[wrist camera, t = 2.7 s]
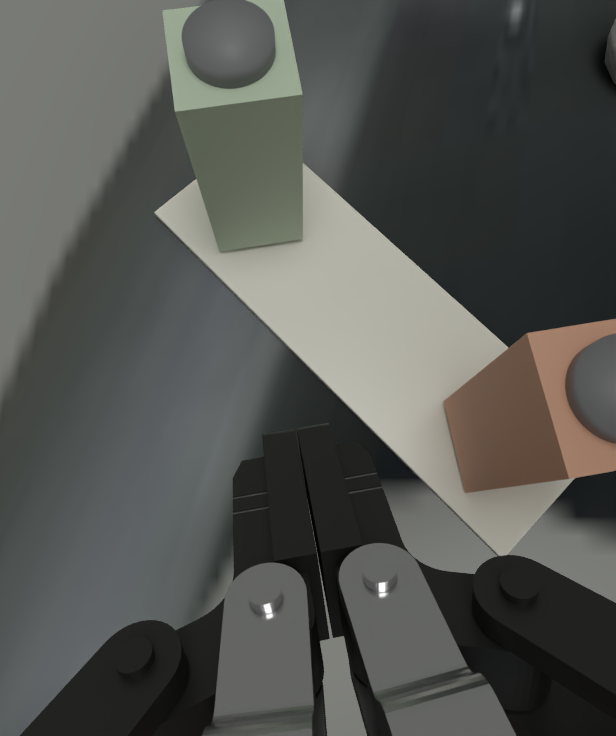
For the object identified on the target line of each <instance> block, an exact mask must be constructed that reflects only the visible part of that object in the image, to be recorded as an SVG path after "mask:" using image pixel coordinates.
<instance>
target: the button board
mask: <svg viewBox="0 0 616 736" xmlns="http://www.w3.org/2000/svg"><path fill="white" fill-rule="evenodd" d="M154 213H155V215H156V216H157V217H158V218H159V219H160V220H161V221H162V222H163V223H164V224H165V225H166V226H167V227H168V228H169V229H170V230H171V231H172V232H173V233H174V234H175V235H176V236H177V237H178V238H179V239H180V240H181V241H182V242H183V243H184V244H185V245H186V246H187V247H188V248H189V249H190V250H191V251H192V252H193V253H194V254H195V255H196V256H197V257H198V258H199V259H200V260H201V261H202V262H203V263H204V264H205V265H206V266H207V267H208V268H209V269H210V270H211V271H212V272H213V273H214V274H215V275H216V276H217V277H218V278H219V279H220V280H221V281H222V282H223V283H224V284H225V285H226V286H227V287H228V288H229V289H230V290H231V291H232V292H233V293H234V294H235V295H236V296H237V297H238V298H239V299H240V300H241V301H242V302H243V303H244V304H245V305H246V306H247V307H248V308H249V309H250V310H251V311H252V312H253V313H254V314H255V315H256V316H257V317H258V318H259V319H260V320H261V321H262V322H263V323H264V324H265V325H266V326H267V327H268V328H269V329H270V330H271V331H272V332H273V333H274V334H275V335H276V336H277V337H278V338H279V339H280V340H281V341H282V342H283V343H284V344H285V345H286V346H287V347H288V348H289V349H290V350H291V351H292V352H293V353H294V354H295V355H296V356H297V357H298V358H299V359H300V360H301V361H302V362H303V363H304V364H305V365H306V366H307V367H308V368H309V369H310V370H311V371H312V372H313V373H314V374H315V375H316V376H317V377H318V378H319V379H320V380H321V381H322V382H323V383H324V384H325V385H326V386H327V387H328V388H329V389H330V390H331V391H332V392H333V393H334V394H335V395H336V396H337V397H338V398H339V399H340V400H341V401H342V402H343V403H344V404H345V405H346V406H347V407H348V408H349V409H350V410H351V411H352V412H353V413H354V414H355V415H356V416H357V417H358V418H359V419H360V420H361V421H362V422H363V423H364V424H365V425H366V426H367V427H368V428H369V429H370V430H371V431H372V432H373V433H374V434H375V435H376V436H377V437H378V438H379V439H380V440H381V441H382V442H383V443H384V444H385V445H386V446H387V447H388V448H389V449H390V450H391V451H393V452H394V453H395V454H396V455H397V456H398V457H399V458H400V459H401V460H402V461H403V462H404V463H405V464H406V465H407V466H408V467H409V468H410V469H411V470H412V471H413V472H414V473H415V474H416V475H417V476H418V477H419V478H420V479H421V480H422V481H423V482H424V483H425V484H426V485H427V486H428V487H429V488H430V489H431V490H432V491H433V492H434V493H435V494H436V495H437V496H438V497H439V498H440V499H441V500H442V501H443V502H444V503H445V504H446V505H447V506H448V507H449V508H450V509H451V510H452V511H453V512H454V513H455V514H456V515H457V516H458V517H459V518H460V519H461V520H462V521H463V522H464V523H465V524H466V525H467V526H468V527H469V528H470V529H471V530H472V531H473V532H474V533H475V534H476V535H477V536H478V537H479V538H480V539H481V540H482V541H483V542H484V543H485V544H486V545H487V546H488V547H489V548H490V549H491V550H492V551H493V552H494V553H495V554H496V555H497V556H504V555H507V554H508V553H509V552H510V551H511V550H512V549H513V548H514V546H515V545H516V544H517V543H518V542H519V541H520V540H521V539H522V537H523V536H524V535H525V534H526V533H527V532H528V531H529V529H530V528H531V527H532V526H533V525H534V524H535V523H536V521H537V520H538V519H539V518H540V517H541V516H542V515H543V514H544V512H545V511H546V510H547V509H548V508H549V507H550V506H551V504H552V503H553V502H554V501H555V500H556V499H557V498H558V496H559V495H560V494H561V493H562V492H563V491H564V490H565V489H566V487H567V486H568V485H569V484H570V483H571V482H572V481H573V479H574V478H571V479H564V480H557V481H550V482H543V483H535V484H528V485H521V486H514V487H506V488H499V489H492V490H484V491H477V492H470V493H465V489H464V485H463V480H462V476H461V472H460V468H459V464H458V460H457V455H456V451H455V447H454V443H453V439H452V435H451V430H450V426H449V422H448V418H447V414H446V410H445V405H444V400H446V399H447V398H448V397H449V396H450V395H452V394H453V393H454V392H455V391H457V390H458V389H459V388H460V387H461V386H463V385H464V384H465V383H466V382H468V381H469V380H470V379H471V378H473V377H474V376H475V375H476V374H477V373H479V372H480V371H481V370H482V369H484V368H485V367H486V366H487V365H488V364H490V363H491V362H492V361H493V360H495V359H496V358H497V357H498V356H500V355H501V354H502V353H503V352H504V351H506V350H507V349H508V347H507V346H506V345H505V344H504V343H503V342H502V341H500V340H499V339H498V338H497V337H496V336H495V335H494V334H493V333H492V332H490V331H489V330H488V329H487V328H486V327H485V326H484V325H483V324H482V323H480V322H479V321H478V320H477V319H476V318H475V317H474V316H473V315H472V314H470V313H469V312H468V311H467V310H466V309H465V308H464V307H463V306H462V305H460V304H459V303H458V302H457V301H456V300H455V299H454V298H453V297H452V296H450V295H449V294H448V293H447V292H446V291H445V290H444V289H443V288H441V287H440V286H439V285H438V284H437V283H436V282H435V281H434V280H433V279H431V278H430V277H429V276H428V275H427V274H426V273H425V272H424V271H423V270H421V269H420V268H419V267H418V266H417V265H416V264H415V263H414V262H413V261H411V260H410V259H409V258H408V257H407V256H406V255H405V254H404V253H403V252H401V251H400V250H399V249H398V248H397V247H396V246H395V245H394V244H393V243H391V242H390V241H389V240H388V239H387V238H386V237H385V236H384V235H383V234H381V233H380V232H379V231H378V230H377V229H376V228H375V227H374V226H373V225H371V224H370V223H369V222H368V221H367V220H366V219H365V218H364V217H363V216H361V215H360V214H359V213H358V212H357V211H356V210H355V209H354V208H352V207H351V206H350V205H349V204H348V203H347V202H346V201H345V200H344V199H342V198H341V197H340V196H339V195H338V194H337V193H336V192H335V191H334V190H332V189H331V188H330V187H329V186H328V185H327V184H326V183H325V182H324V181H322V180H321V179H320V178H319V177H318V176H317V175H316V174H315V173H314V172H312V171H311V170H310V169H309V168H308V167H307V166H306V165H305V164H304V163H303V239H301V240H294V241H287V242H280V243H274V244H267V245H260V246H254V247H247V248H240V249H234V250H227V251H220V252H219V248H218V245H217V242H216V239H215V236H214V233H213V230H212V226H211V223H210V220H209V217H208V214H207V211H206V208H205V204H204V201H203V198H202V195H201V192H200V189H199V185H198V182H197V179H195V180H194V181H193V182H192V183H190V184H189V185H188V186H187V187H185V188H184V189H183V190H182V191H180V192H179V193H178V194H177V195H175V196H174V197H173V198H172V199H170V200H169V201H168V202H167V203H165V204H164V205H163V206H162V207H160V208H159V209H158V210H157V211H155V212H154Z"/></svg>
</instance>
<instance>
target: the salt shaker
mask: <svg viewBox="0 0 616 736" xmlns="http://www.w3.org/2000/svg"><path fill="white" fill-rule="evenodd" d="M605 65H606V67H607V69H608V71H609V73H610V76H611V78H612V80H613V82H614V84H616V19H615V22H614V24H613V26H612V28H611V31H610V33H609V35H608V41H607V48H606V55H605Z"/></svg>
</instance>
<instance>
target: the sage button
mask: <svg viewBox="0 0 616 736" xmlns="http://www.w3.org/2000/svg"><path fill="white" fill-rule="evenodd" d="M162 12H163V20H164V28H165V35H166V43H167V52H168V59H169V67H170V75H171V83H172V91H173V99H174V107H175V113H176V116H177V119H178V123H179V126H180V129H181V132H182V135H183V138H184V141H185V145H186V148H187V151H188V154H189V157H190V160H191V163H192V167H193V170H194V173H195V176H196V179H197V182H198V185H199V189H200V192H201V195H202V198H203V201H204V204H205V208H206V211H207V214H208V217H209V220H210V223H211V226H212V230H213V233H214V236H215V239H216V242H217V245H218V248H219V252H220V251H227V250H234V249H240V248H247V247H254V246H260V245H267V244H274V243H280V242H287V241H294V240H301V239H303V94H302V89H301V84H300V79H299V74H298V69H297V64H296V59H295V54H294V49H293V44H292V39H291V34H290V29H289V24H288V19H287V14H286V9H285V4H284V0H213V1H210V2H207V3H205V4H203V5H201V6H196V7H188V8H181V9H172V10H165V11H162Z"/></svg>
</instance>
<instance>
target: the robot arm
mask: <svg viewBox="0 0 616 736" xmlns="http://www.w3.org/2000/svg"><path fill="white" fill-rule="evenodd" d="M297 434H298V440H299V447H300V454H301V460H302V467H303V473H304V480H305V486H306V492H307V497H306V492H305V486H304V481H303V475H302V470H301V464H300V459H299V453H298V448H297V442H296V437H295V431H294V429H291V430H285V431H279V432H273V433H267V434H262V438H263V449H264V457H262V458H256V459H251V460H245V461H242V462H241V464H240V466H239V468H238V470H237V471H236V473H235V475H234V477H233V513H234V516H233V535H234V577H233V582H232V583H231V585H230V586H229V588H228V590H227V593H226V595H225V598H224V599H223V600H222V602H221V603H220V604H219V605H218V606H217V607H216V608H215V609H214V610H212V611H211V612H209V613H208V614H207V615H205V616H203V617H201V618H200V619H198V620H196V621H194V622H192V623H190V624H188V625H186V626H184V627H182V628H180V629H178V630H176V631H175V630H174V629H173V628H172V627H171V626H169V625H168V624H166V623H164V622H161V621H156V620H146V621H140V622H137V623H133V624H131V625H129V626H126V627H125V628H123V629H121V630H120V631H118V632H117V633H115V634H114V635H113V636H112V637H111V638H110V639H109V640H107V641H106V642H105V644H104V645H103V646H102V647H101V648H100V649H99V650H98V651H97V652H96V653H95V654H94V655H93V657H92V658H91V659H90V660H89V661H88V662H87V663H86V664H85V665H84V666H83V667H82V669H81V670H80V671H79V672H78V673H77V674H76V675H75V676H74V677H73V678H72V679H71V681H70V682H69V683H68V684H67V685H66V686H65V687H64V688H63V689H62V690H61V691H60V693H59V694H58V695H57V696H56V697H55V698H54V699H53V700H52V701H51V702H50V703H49V705H48V706H47V707H46V708H45V709H44V710H43V711H42V712H41V713H40V714H39V715H38V716H37V718H36V719H35V720H34V721H33V722H32V723H31V724H30V725H29V726H28V727H27V728H26V730H25V731H24V732H23V733H22V734H21V735H20V736H327V729H326V717H325V704H324V693H323V692H324V691H323V682H322V680H323V675H324V666H323V659H322V653H321V648H320V641H321V640H325V639H329V632H328V625H327V618H326V612H325V605H324V598H323V592H322V585H321V580H320V579H321V578H320V572H319V565H318V558H319V564H320V569H321V575H322V580H323V586H324V591H325V596H326V602H327V607H328V613H329V619H330V623H331V629H332V635H333V638H335V637H340V636H344V638H345V643H346V648H347V652H348V658H349V665H350V673H351V679H352V682H353V686H354V690H355V693H356V697H357V700H358V704H359V707H360V711H361V715H362V718H363V722H364V726H365V729H366V733H367V736H616V603H614V602H613V601H611V600H609V599H607V598H605V597H603V596H601V595H599V594H597V593H595V592H593V591H592V590H590V589H588V588H586V587H584V586H582V585H580V584H578V583H576V582H574V581H572V580H570V579H569V578H567V577H565V576H563V575H561V574H559V573H557V572H555V571H553V570H551V569H550V568H548V567H546V566H544V565H542V564H540V563H538V562H536V561H533V560H531V559H528V558H525V557H521V556H515V555H504V556H498V557H494V558H491V559H489V560H487V561H486V562H484V563H483V564H482V565H481V566H480V567H479V568H478V569H477V571H476V573H475V574H467V573H456V572H447V571H441V570H438V569H434V568H431V567H429V566H427V565H425V564H423V563H421V562H419V561H418V560H417V559H415V558H414V557H413V556H412V555H411V554H410V553H409V552H408V551H407V549H406V548H405V546H404V544H403V542H402V540H401V537H400V534H399V532H398V529H397V526H396V523H395V521H394V518H393V515H392V512H391V510H390V507H389V504H388V501H387V499H386V496H385V493H384V491H383V489H382V485H381V482H380V480H379V477H378V475H377V472H376V469H375V466H374V463H373V461H372V458H371V455H370V454H369V453H368V452H367V451H366V450H365V449H364V448H363V447H361V446H360V445H359V444H358V443H357V442H356V441H355V442H349V443H343V444H337V445H335V444H334V440H333V436H332V433H331V429H330V426H329V423H325V424H319V425H314V426H308V427H302V428H297ZM307 498H308V502H307ZM308 504H309V508H308ZM309 510H310V513H309ZM310 515H311V519H310ZM311 521H312V524H311ZM312 526H313V530H312ZM313 532H314V535H313ZM314 537H315V541H314ZM315 542H316V546H315ZM316 548H317V552H316ZM317 553H318V558H317Z"/></svg>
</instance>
